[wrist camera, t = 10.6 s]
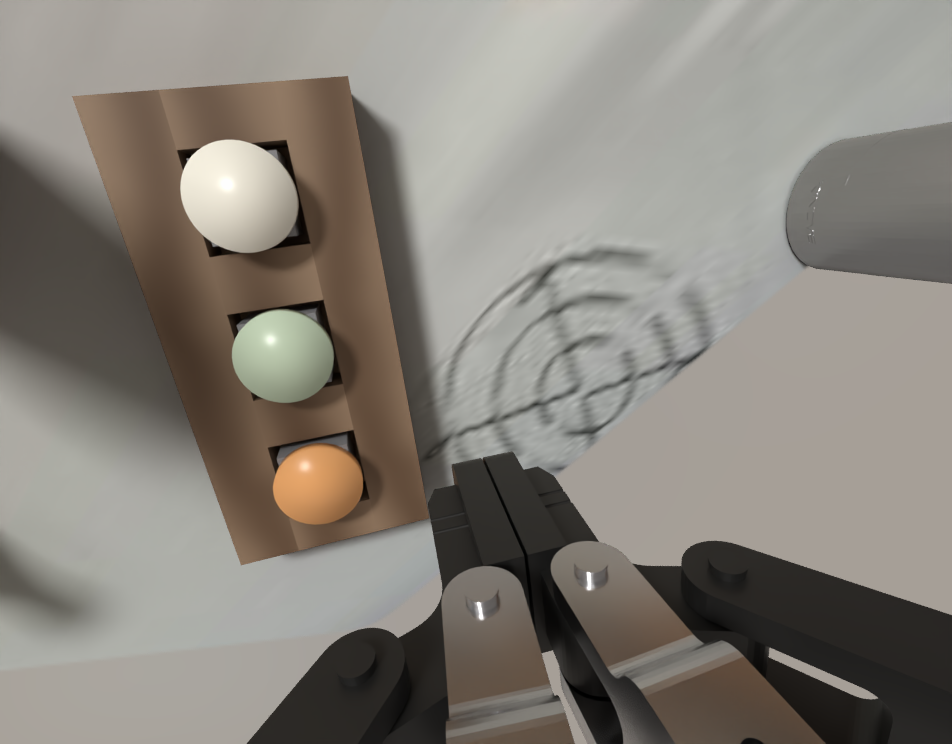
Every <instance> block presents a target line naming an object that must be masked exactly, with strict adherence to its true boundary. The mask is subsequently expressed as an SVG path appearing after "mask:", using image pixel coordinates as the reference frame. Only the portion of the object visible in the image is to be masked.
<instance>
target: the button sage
mask: <svg viewBox="0 0 952 744" xmlns="http://www.w3.org/2000/svg"><path fill="white" fill-rule="evenodd" d="M237 329H238V332H239V333H238V335H237V336H236V338H235V341H234V344H233V348H232V362H233V366H234V369H235V372H236V374H237V376H238V378H239V379H240V381H241V382H242V383H243V385H244V386H245V387H246V388H247V389H249V390H250V391H251V392H252V393H254V394H256V395H257V396H259V397H261V398H263V399H266V400H269V401H273V402H279V403H291V402H297V401H301V400H304V399H307V398H309V397H311V396H312V395H314V394H315V393H317V392H318V391H319V390H320V389H321V388H322V387H323V386H324V385H325V384H326V383H327V382H332V377H333V371H334V363H333V362H334V350H333V345H332V342H331V339H330V337H329V335H328V333H327V332H326V329H325V325H324V321H323V316H322V312H321V308H320V304H319V303H318V304H312V305H306V306H299V307H293V308H287V309H275V310H270V311H266V312H261V313H255V314H249V315H248V316H246V317H245V318H244V319H243V320H242V321H241V322H240V323H238V324H237Z"/></svg>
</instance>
